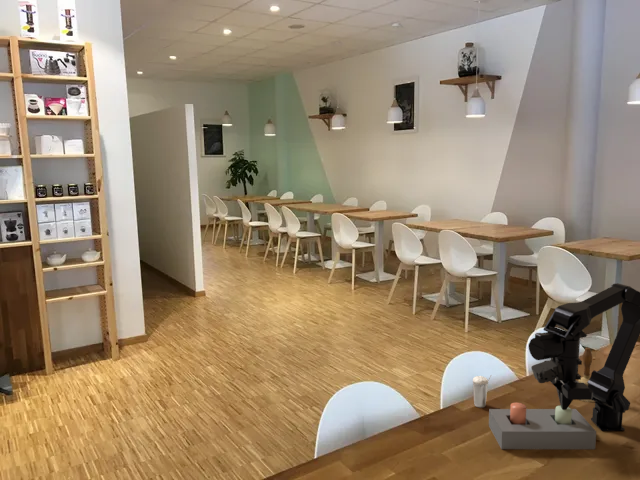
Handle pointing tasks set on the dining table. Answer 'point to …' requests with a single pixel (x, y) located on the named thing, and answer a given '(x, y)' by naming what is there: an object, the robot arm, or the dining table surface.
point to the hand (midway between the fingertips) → (563, 409)
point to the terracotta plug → (518, 414)
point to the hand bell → (586, 368)
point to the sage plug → (563, 416)
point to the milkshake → (480, 390)
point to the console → (541, 431)
